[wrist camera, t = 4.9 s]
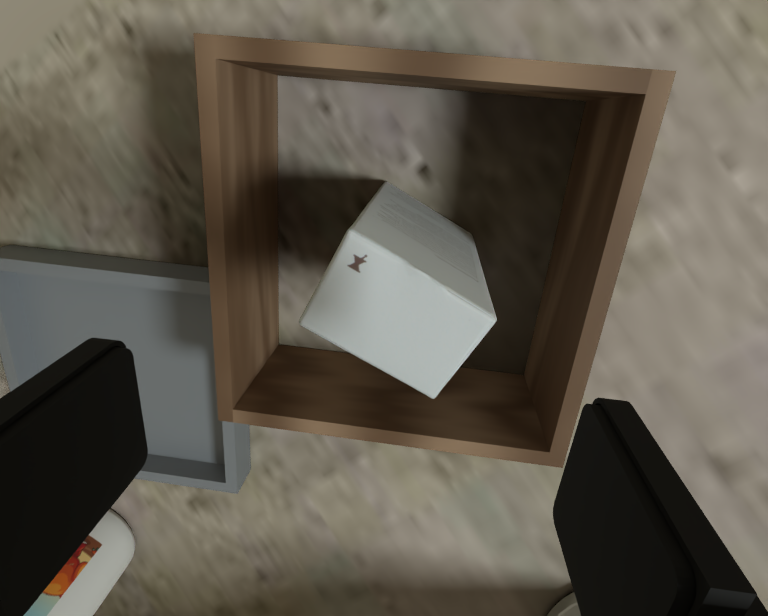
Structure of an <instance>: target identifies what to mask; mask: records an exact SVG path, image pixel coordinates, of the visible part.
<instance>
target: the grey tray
mask: <svg viewBox="0 0 768 616" xmlns="http://www.w3.org/2000/svg"><path fill="white" fill-rule="evenodd" d="M90 338H102V339H110V340H119V341H122V342H123V343H124V344H125V346H126V348H128V349H130V350H131V351H132V353H133V357H134V364H135V370H136V376H137V383H138V389H139V396H140V402H141V409H142V415H143V422H144V428H145V435H146V441H147V447H148V455H147V459H146V462H145V464H144V466H143V468H142V469H141V470H140V472H139V473H138V474H137V475H136V477H135V479H142V480H149V481H155V482H162V483H169V484H176V485H182V486H189V487H196V488H202V489H209V490H216V491H223V492H229V493H236V494H238V492H239V490H240V488H241V486H242V484H243V482H244V481H245V479H246V477H247V475H248V473H249V471H250V469H251V465H250V436H249V425H248V424H241V423H234V422H226V421H219V420H218V408H217V392H216V377H215V361H214V345H213V330H212V314H211V299H210V283H209V268H208V267H199V266H191V265H182V264H173V263H164V262H156V261H147V260H138V259H129V258H121V257H112V256H103V255H95V254H86V253H77V252H68V251H60V250H51V249H42V248H33V247H25V246H16V245H8V246H4V247H1V248H0V354H1V358H2V362H3V366H4V370H5V374H6V377H7V381H8V385H9V389H10V392H11V391H12V390H14V389H15V388H17V387H18V386H20V385H21V384H23V383H24V382H26V381H27V380H29V379H30V378H32V377H33V376H34V375H36V374H37V373H39V372H40V371H42V370H43V369H45V368H46V367H48V366H49V365H51V364H52V363H54V362H55V361H57V360H58V359H60V358H61V357H62V356H64V355H65V354H67V353H68V352H70V351H71V350H73V349H74V348H76V347H77V346H79V345H80V344H82V343H83V342H85V341H86V340H88V339H90Z"/></svg>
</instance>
